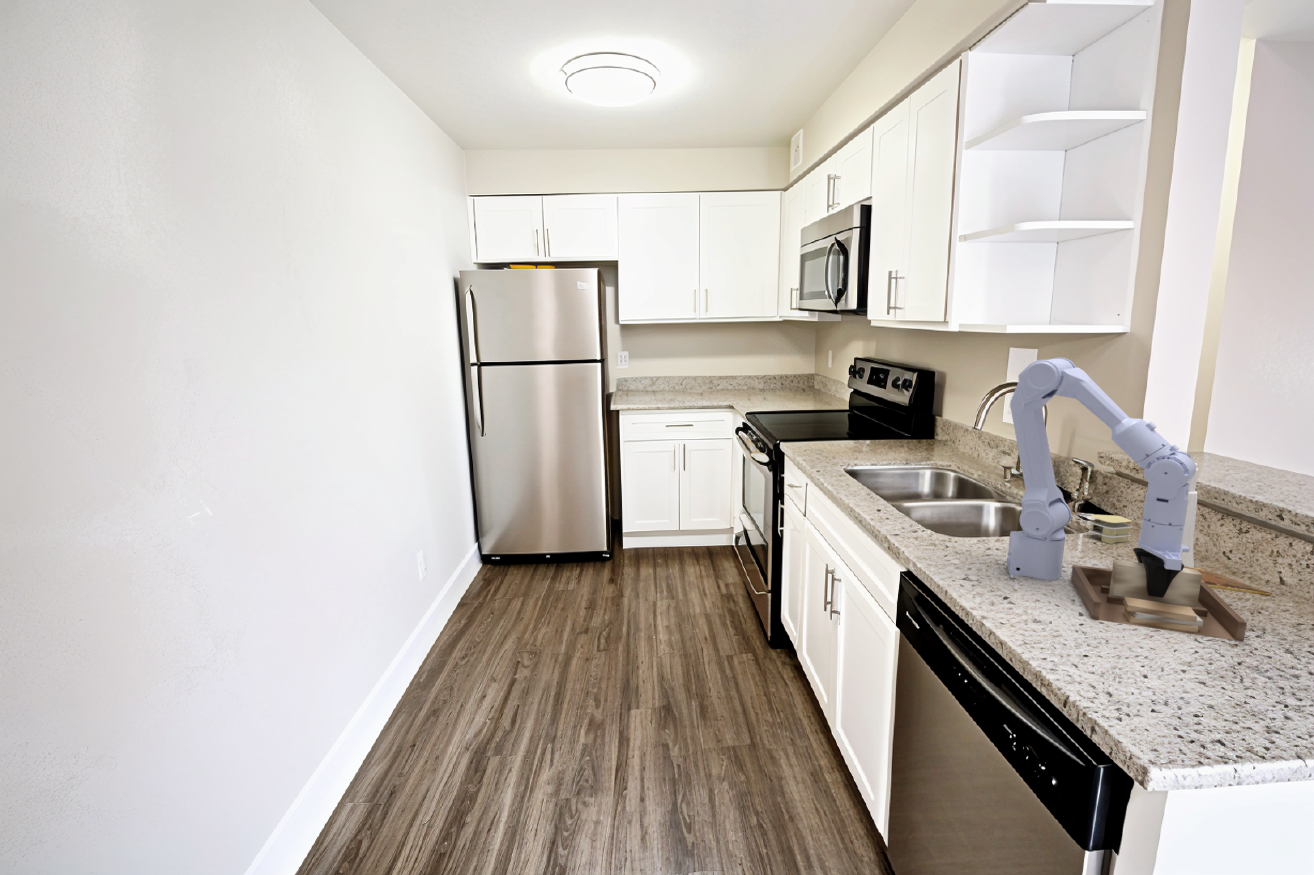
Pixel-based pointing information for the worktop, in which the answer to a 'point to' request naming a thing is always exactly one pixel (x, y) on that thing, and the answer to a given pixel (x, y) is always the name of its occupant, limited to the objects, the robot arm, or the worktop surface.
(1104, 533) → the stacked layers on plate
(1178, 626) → the offcut bottom
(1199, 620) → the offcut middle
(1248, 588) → the shard
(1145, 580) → the birch sheet
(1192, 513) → the cosmetic bottle
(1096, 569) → the rack
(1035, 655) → the worktop surface
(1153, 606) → the offcut top
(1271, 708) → the worktop surface
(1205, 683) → the worktop surface
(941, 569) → the worktop surface
